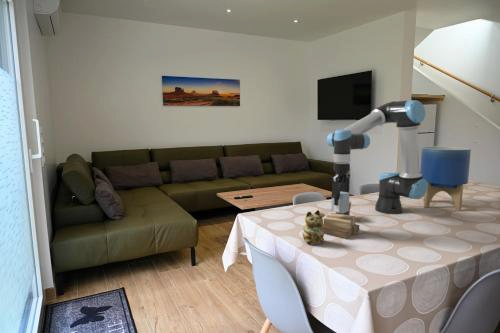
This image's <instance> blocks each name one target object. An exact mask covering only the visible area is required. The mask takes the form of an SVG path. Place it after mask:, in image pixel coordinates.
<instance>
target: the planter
mask: <svg viewBox="0 0 500 333" xmlns="http://www.w3.org/2000/svg"><path fill="white" fill-rule="evenodd" d="M471 151H472V149H471V148H470V147H469V148H468V147H459V146H437V145H435V146H434V145H433V146H422V147H421V151H420V152H421V154H420V166H419V172H421V173H422V177H423V179H425V180H426V181H427V183H428V188H427V191H426V193H425V195H424V196H423V197H422V198H423V199H422V200H423V201H422V202H423V208H425V207H426V208H425V209H429V208H430V205H431V202H432V200H433V198H434V197H435V196H436V194H438V193H439V192H445V193H446V194H448V195H449V196H450V197H451V200H452V205H454V204H455V205H454V210H455V211H457V212H461V211H462V205H463V196H464V195H463V192H464V185H467V184H469V175H470V166H471V165H470V163H471V153H472V152H471ZM428 207H429V208H428Z"/></svg>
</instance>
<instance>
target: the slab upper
mask: <svg viewBox="0 0 500 333" xmlns="http://www.w3.org/2000/svg"><path fill="white" fill-rule="evenodd" d="M323 224H324V227H327V228H333V229H339V230H345V231H349V230H350V229H351V228H352V227H353V226H354V225H355V224H356V215H351V214H350V215H343V214H336V212H331V213H329V214H328V215H327V216H325V217H323Z"/></svg>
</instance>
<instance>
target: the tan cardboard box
mask: <svg viewBox="0 0 500 333" xmlns="http://www.w3.org/2000/svg"><path fill="white" fill-rule="evenodd" d="M320 230H322V231H323V232H324V235H328V236H329V237H330V236H332V237H335V238H338V239H343V240H348V239H349V238H351V237H353V236H355V235H357V234H358V233H360V224H356V223H355V225H354V226H353V227H352V228H351V229H350V230H349V231H345V230H339V229H333V228H327V227H324V223H323V226H322V227H321V228H320Z"/></svg>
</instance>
